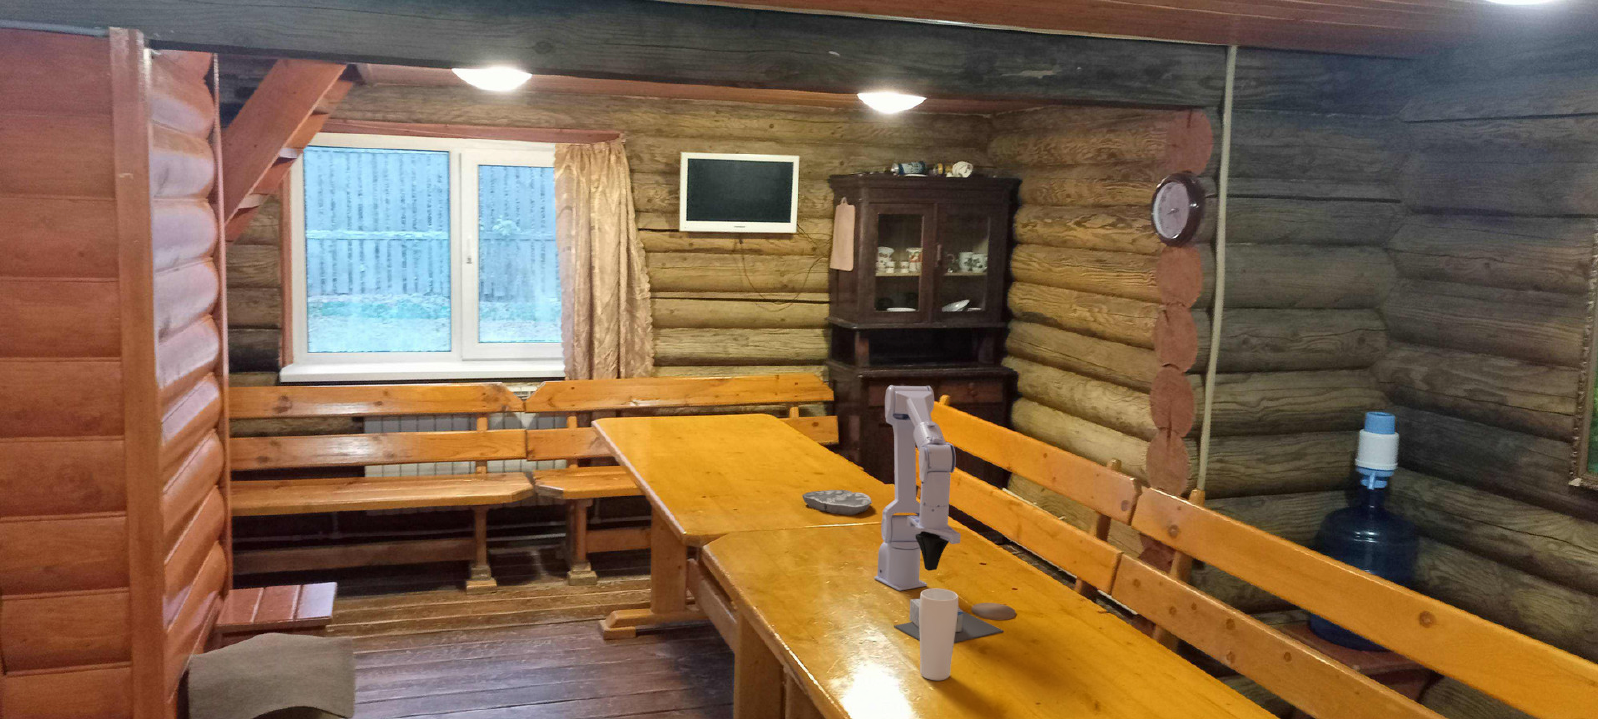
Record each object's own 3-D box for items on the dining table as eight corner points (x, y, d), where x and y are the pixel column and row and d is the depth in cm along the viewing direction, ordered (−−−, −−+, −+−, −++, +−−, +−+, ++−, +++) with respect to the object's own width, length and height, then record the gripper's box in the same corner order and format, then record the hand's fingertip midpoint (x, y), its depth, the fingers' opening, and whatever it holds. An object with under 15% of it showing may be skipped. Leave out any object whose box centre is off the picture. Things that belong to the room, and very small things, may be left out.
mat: (893, 627, 225) (893, 625, 224) (963, 612, 234) (963, 611, 234) (932, 647, 214) (932, 646, 214) (1003, 631, 224) (1003, 630, 224)
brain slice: (884, 507, 318) (885, 497, 317) (855, 519, 303) (855, 509, 303) (824, 496, 328) (824, 486, 328) (793, 507, 314) (793, 497, 313)
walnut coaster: (962, 610, 237) (962, 606, 237) (994, 603, 242) (994, 600, 241) (992, 624, 229) (992, 620, 229) (1024, 617, 234) (1024, 613, 234)
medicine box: (908, 619, 228) (925, 635, 220) (909, 598, 228) (926, 613, 219) (944, 616, 230) (962, 632, 222) (946, 595, 230) (963, 610, 222)
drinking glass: (950, 668, 205) (955, 588, 203) (957, 683, 198) (961, 601, 196) (913, 667, 205) (917, 587, 203) (918, 683, 198) (922, 600, 196)
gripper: (896, 497, 231) (893, 561, 233) (942, 514, 219) (938, 582, 220) (923, 493, 235) (920, 557, 236) (970, 510, 222) (966, 577, 224)
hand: (930, 569), depth 229 cm, fingers closed
